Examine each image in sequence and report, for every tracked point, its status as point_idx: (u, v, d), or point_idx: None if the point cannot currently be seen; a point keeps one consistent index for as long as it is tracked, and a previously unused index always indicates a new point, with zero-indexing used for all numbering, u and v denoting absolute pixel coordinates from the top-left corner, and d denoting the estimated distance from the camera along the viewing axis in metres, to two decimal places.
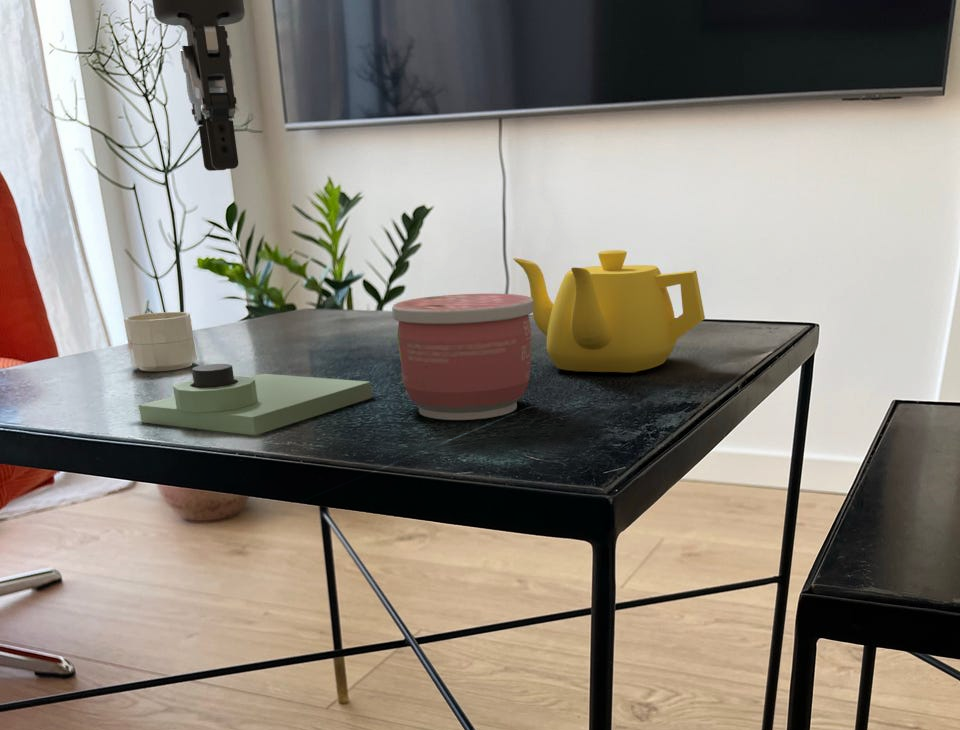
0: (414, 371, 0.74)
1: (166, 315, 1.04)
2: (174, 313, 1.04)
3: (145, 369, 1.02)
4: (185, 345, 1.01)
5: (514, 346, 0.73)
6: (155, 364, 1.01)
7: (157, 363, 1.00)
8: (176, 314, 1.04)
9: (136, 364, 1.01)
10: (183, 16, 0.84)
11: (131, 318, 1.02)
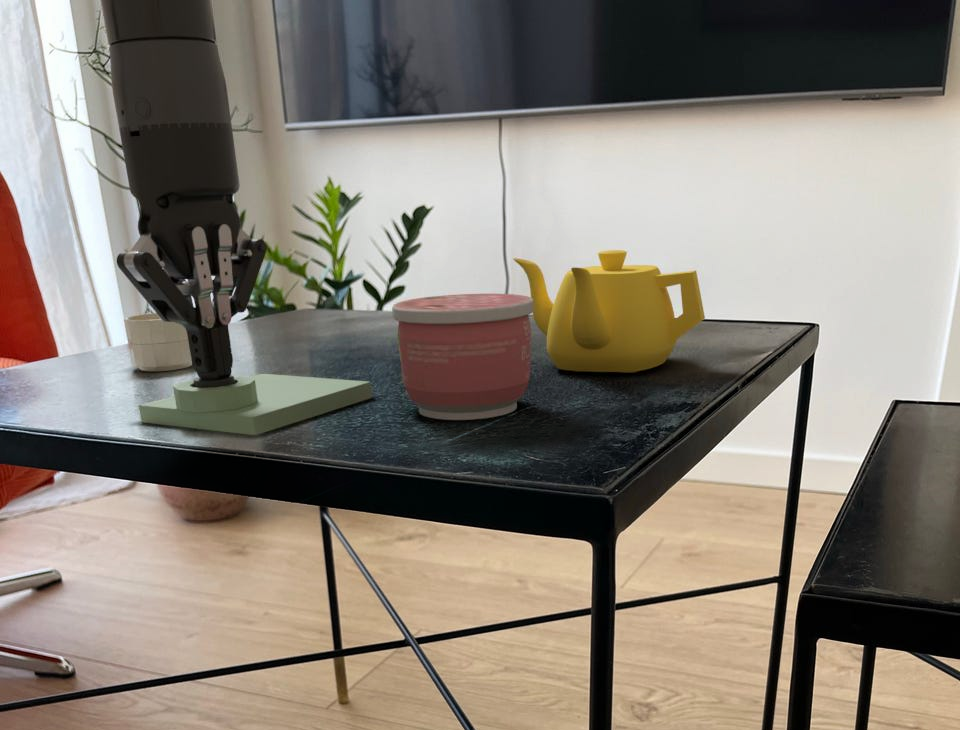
0: (414, 371, 0.74)
1: None
2: None
3: (145, 369, 1.02)
4: (185, 345, 1.01)
5: (514, 346, 0.73)
6: (155, 364, 1.01)
7: (157, 363, 1.00)
8: None
9: (136, 364, 1.01)
10: None
11: (131, 318, 1.02)
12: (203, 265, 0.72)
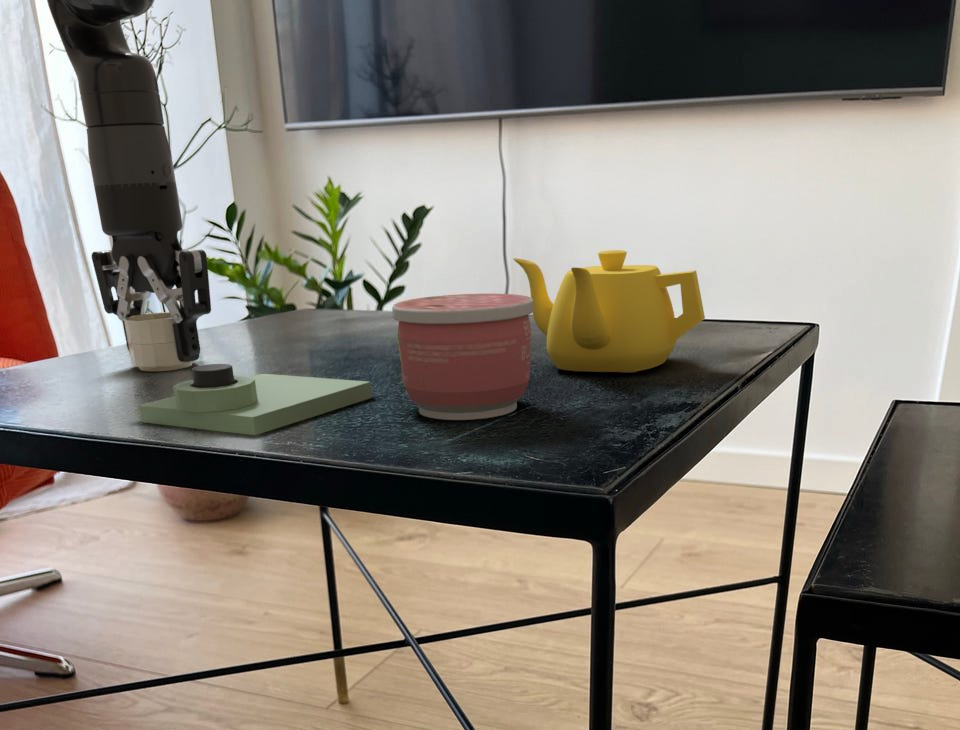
0: (414, 371, 0.74)
1: (166, 315, 1.04)
2: None
3: (145, 369, 1.02)
4: None
5: (514, 346, 0.73)
6: (155, 364, 1.01)
7: (157, 363, 1.00)
8: None
9: (136, 364, 1.01)
10: (146, 233, 0.96)
11: (131, 318, 1.02)
12: None
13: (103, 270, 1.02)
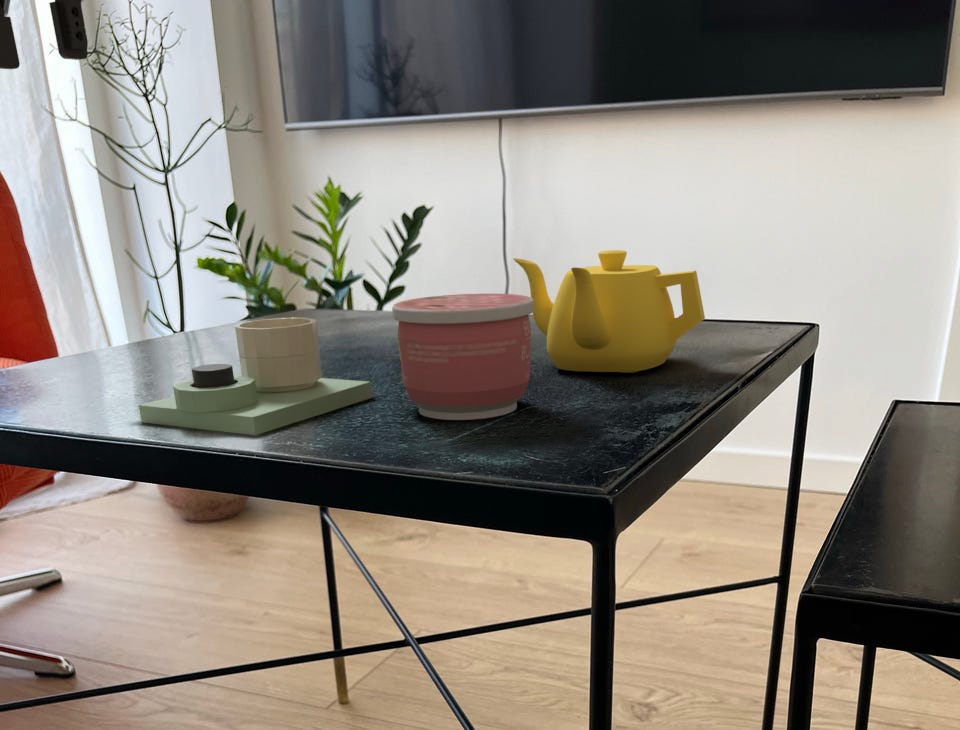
0: (414, 371, 0.74)
1: (283, 321, 0.84)
2: (293, 319, 0.84)
3: (261, 389, 0.81)
4: (311, 359, 0.81)
5: (514, 346, 0.73)
6: (274, 383, 0.80)
7: (277, 382, 0.80)
8: (296, 320, 0.84)
9: None
10: None
11: (242, 325, 0.82)
12: None
13: None
